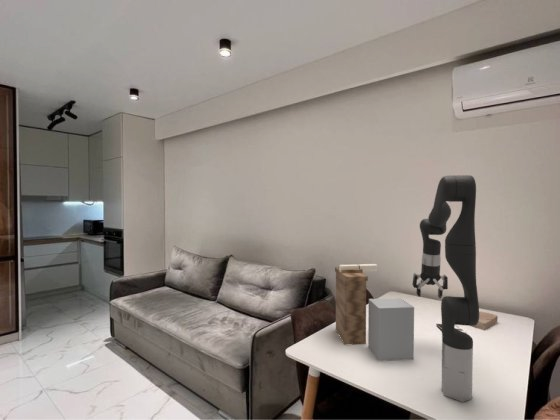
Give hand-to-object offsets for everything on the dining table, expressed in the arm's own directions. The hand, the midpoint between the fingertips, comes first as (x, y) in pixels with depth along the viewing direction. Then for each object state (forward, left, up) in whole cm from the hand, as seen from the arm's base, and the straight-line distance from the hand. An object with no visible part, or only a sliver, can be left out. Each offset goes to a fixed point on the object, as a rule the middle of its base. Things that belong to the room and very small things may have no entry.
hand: (429, 296), depth 142 cm
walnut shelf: (-15, +32, -22) cm, 42 cm away
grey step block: (-19, +11, -22) cm, 31 cm away
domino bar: (-13, +29, +10) cm, 33 cm away
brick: (+44, -15, -23) cm, 52 cm away
